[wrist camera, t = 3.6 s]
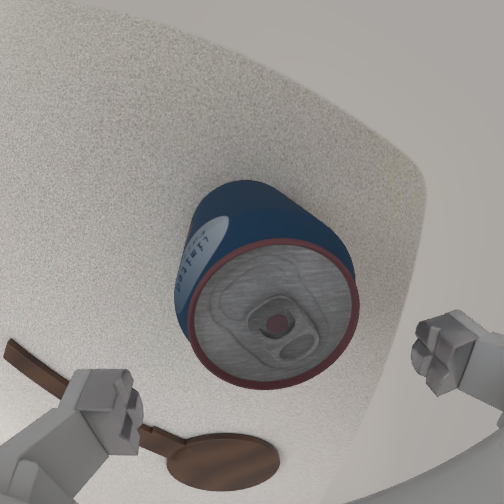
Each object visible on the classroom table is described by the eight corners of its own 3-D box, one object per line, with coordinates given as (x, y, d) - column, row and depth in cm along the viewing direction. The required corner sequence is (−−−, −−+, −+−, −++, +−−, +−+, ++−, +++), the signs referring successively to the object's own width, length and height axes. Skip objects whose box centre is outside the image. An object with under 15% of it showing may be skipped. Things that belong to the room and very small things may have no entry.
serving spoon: (301, 452, 30) (303, 457, 30) (233, 494, 33) (233, 498, 32) (23, 301, 21) (19, 305, 20) (-1, 379, 23) (-4, 383, 22)
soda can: (170, 220, 20) (123, 311, 9) (255, 157, 20) (311, 171, 8) (232, 294, 22) (252, 424, 11) (311, 238, 22) (401, 330, 11)
